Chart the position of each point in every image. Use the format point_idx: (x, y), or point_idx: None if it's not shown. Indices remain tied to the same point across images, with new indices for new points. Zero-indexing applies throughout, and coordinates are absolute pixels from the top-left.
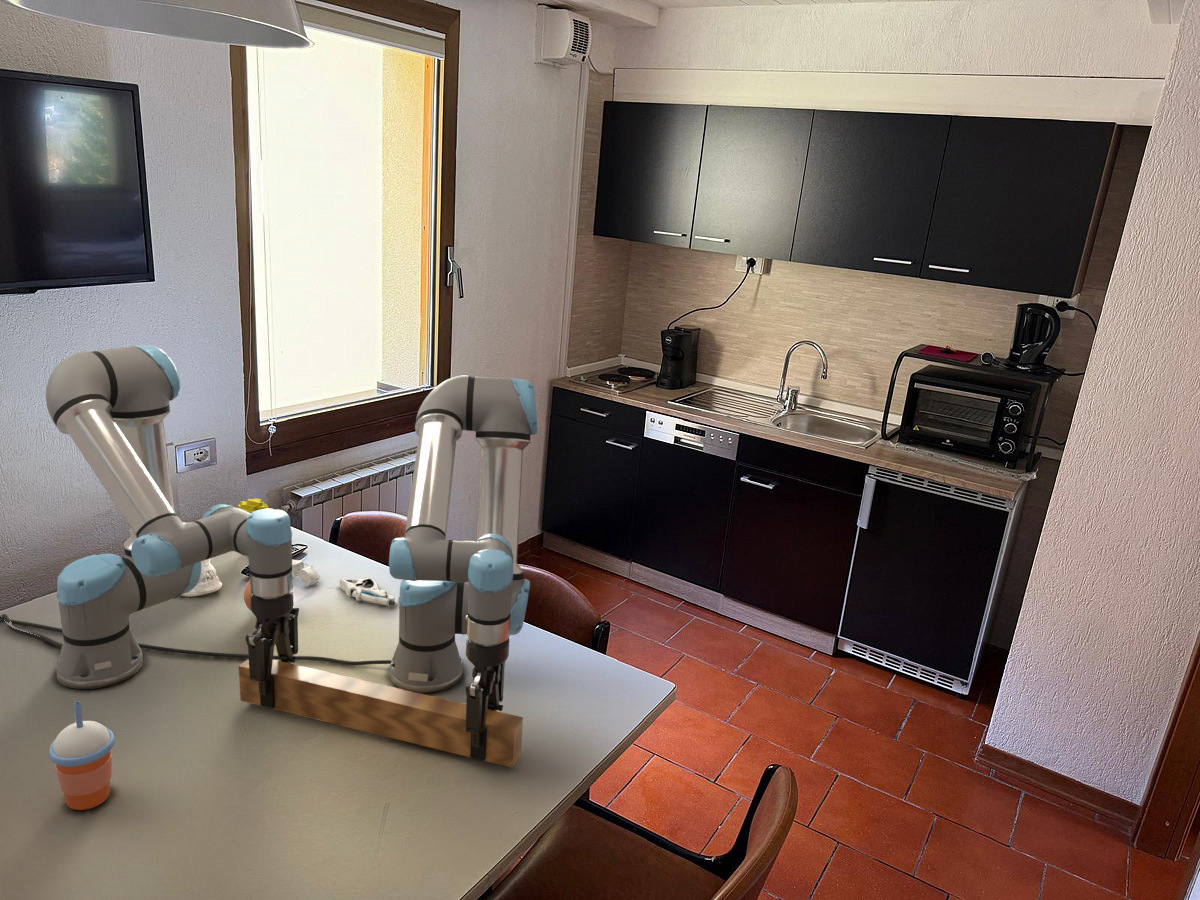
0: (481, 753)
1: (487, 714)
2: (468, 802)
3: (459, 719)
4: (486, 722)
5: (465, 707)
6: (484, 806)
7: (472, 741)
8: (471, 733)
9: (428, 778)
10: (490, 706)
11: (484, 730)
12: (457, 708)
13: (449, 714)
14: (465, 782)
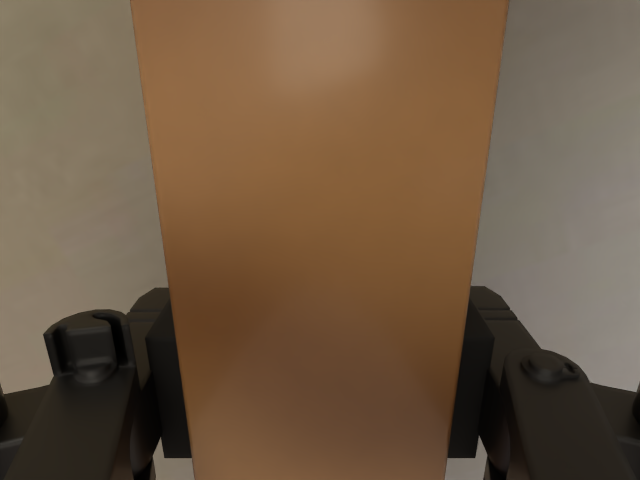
0: None
1: (354, 443)
2: (7, 288)
3: (159, 196)
4: (222, 475)
5: (408, 175)
6: (26, 354)
7: (129, 316)
8: (167, 304)
9: (37, 19)
10: (498, 432)
11: (164, 448)
12: (348, 78)
13: (164, 26)
14: (117, 224)
